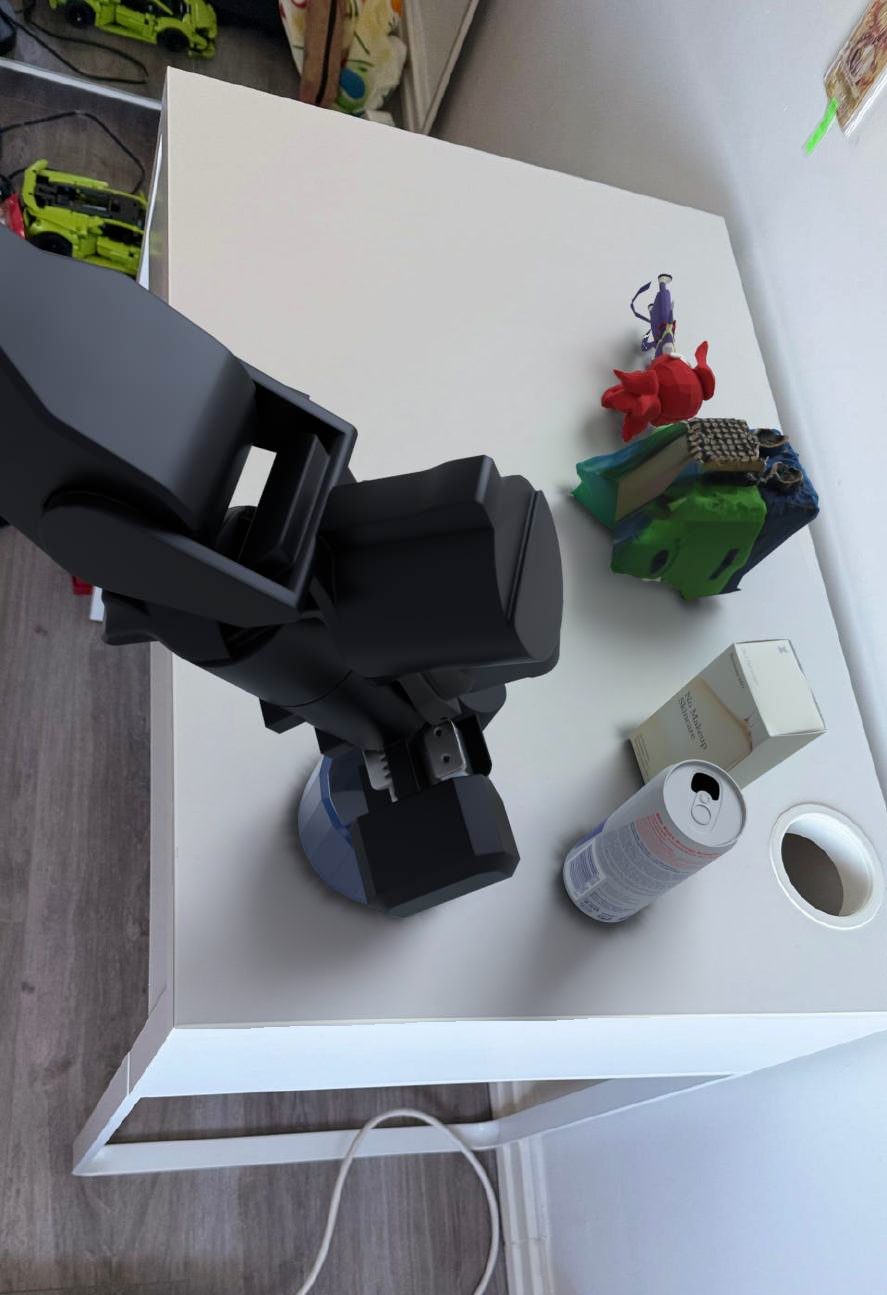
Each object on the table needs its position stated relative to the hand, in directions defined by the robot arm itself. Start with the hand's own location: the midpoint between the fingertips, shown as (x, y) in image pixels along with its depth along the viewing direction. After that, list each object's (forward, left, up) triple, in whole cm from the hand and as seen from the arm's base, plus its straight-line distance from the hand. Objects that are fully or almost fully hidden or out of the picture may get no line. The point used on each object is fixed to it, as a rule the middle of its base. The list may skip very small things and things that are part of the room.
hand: (466, 739), depth 54 cm
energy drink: (+13, 0, -11) cm, 17 cm away
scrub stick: (-1, -1, -7) cm, 7 cm away
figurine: (+11, +43, -11) cm, 46 cm away
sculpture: (+14, +28, -11) cm, 33 cm away
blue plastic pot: (-1, -1, -11) cm, 11 cm away
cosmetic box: (+17, +9, -11) cm, 22 cm away
